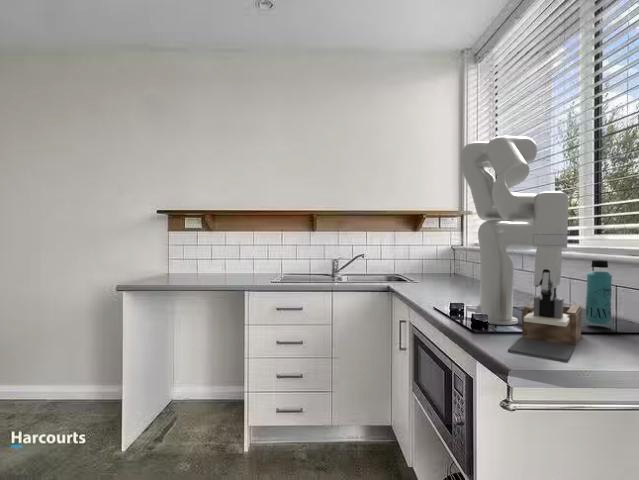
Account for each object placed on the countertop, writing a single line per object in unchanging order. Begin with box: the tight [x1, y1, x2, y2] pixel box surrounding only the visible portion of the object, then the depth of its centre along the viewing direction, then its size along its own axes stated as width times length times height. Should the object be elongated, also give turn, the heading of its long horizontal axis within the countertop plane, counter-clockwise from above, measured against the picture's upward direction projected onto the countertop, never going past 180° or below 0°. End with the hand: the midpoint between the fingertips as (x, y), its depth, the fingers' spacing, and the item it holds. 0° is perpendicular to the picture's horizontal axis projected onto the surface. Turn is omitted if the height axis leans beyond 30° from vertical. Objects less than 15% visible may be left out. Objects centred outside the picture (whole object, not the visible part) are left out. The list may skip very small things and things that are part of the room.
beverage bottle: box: [584, 259, 613, 325], centre depth 124 cm, size 6×7×20 cm
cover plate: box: [524, 295, 571, 327], centre depth 104 cm, size 9×12×6 cm
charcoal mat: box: [507, 337, 576, 363], centre depth 98 cm, size 12×14×1 cm
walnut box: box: [521, 300, 583, 348], centre depth 111 cm, size 12×14×8 cm
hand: (548, 314), depth 104 cm, fingers closed on cover plate, 4 cm apart
